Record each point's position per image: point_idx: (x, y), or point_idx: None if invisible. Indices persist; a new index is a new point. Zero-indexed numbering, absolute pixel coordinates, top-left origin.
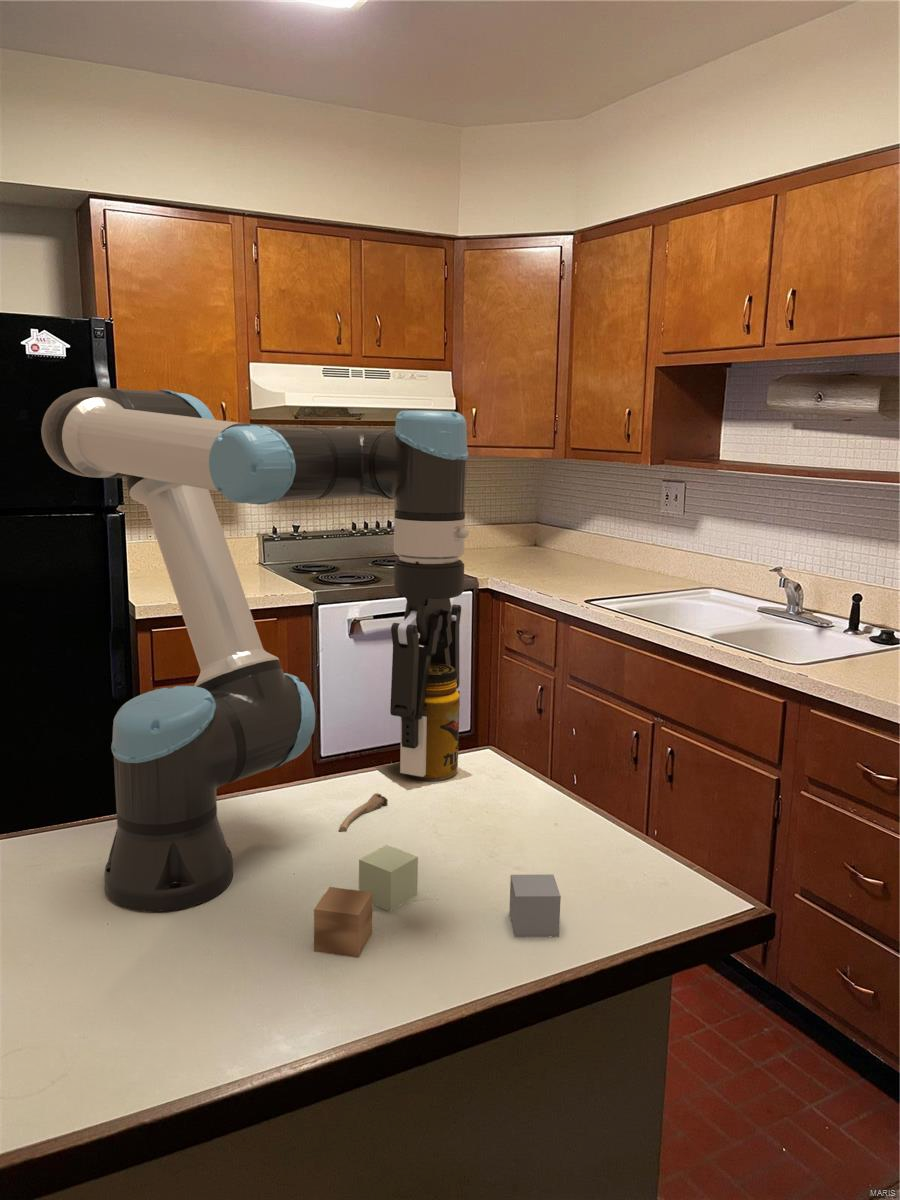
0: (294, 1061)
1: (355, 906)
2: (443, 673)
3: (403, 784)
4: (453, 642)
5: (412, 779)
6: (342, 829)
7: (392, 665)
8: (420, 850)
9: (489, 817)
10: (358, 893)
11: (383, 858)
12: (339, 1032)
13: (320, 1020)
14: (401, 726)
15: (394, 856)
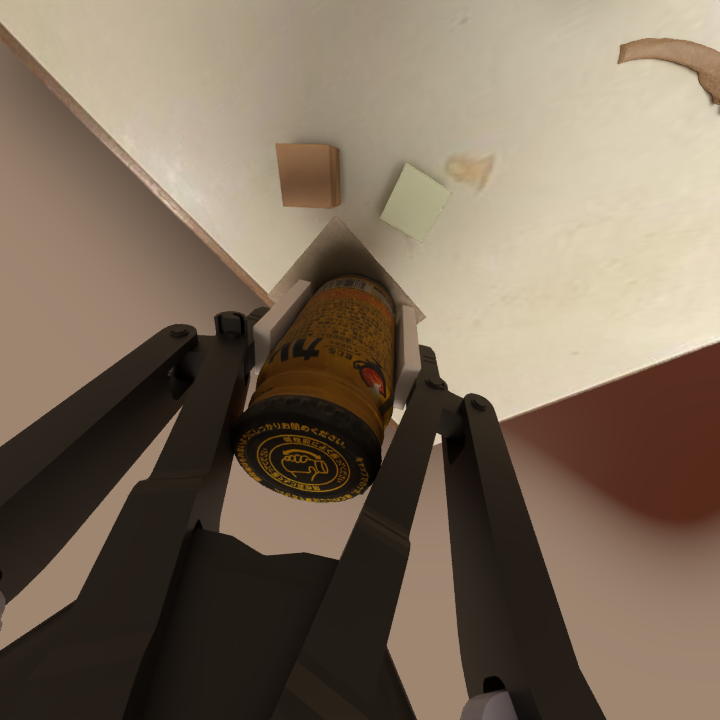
0: (164, 191)
1: (298, 196)
2: (264, 485)
3: (285, 285)
4: (454, 571)
5: (312, 294)
6: (622, 52)
7: (32, 425)
8: (527, 215)
9: (613, 287)
10: (324, 191)
11: (413, 198)
12: (207, 217)
13: (211, 196)
14: (265, 315)
15: (419, 212)
